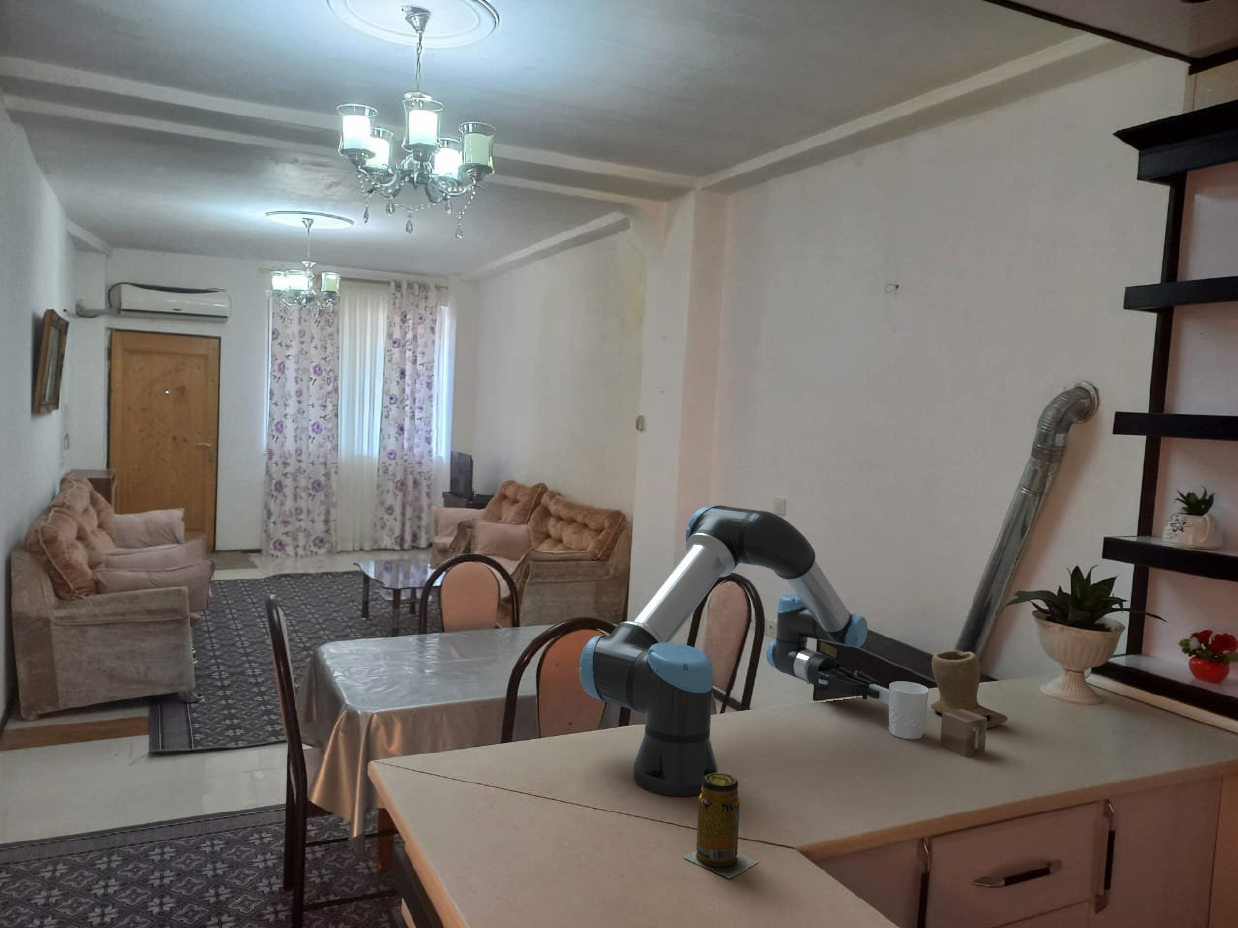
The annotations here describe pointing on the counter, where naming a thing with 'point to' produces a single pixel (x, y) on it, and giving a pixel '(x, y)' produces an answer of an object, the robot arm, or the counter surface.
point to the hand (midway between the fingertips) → (893, 698)
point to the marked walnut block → (963, 732)
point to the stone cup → (960, 685)
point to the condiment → (719, 827)
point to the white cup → (907, 709)
